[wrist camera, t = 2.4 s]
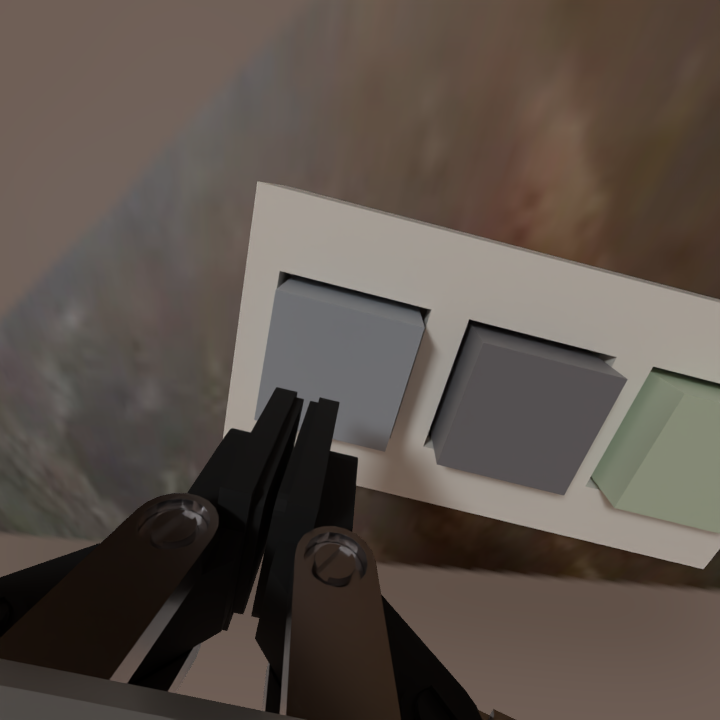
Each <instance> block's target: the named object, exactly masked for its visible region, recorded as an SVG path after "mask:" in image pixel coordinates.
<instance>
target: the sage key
mask: <svg viewBox="0 0 720 720" xmlns="http://www.w3.org/2000/svg"><path fill="white" fill-rule="evenodd" d="M591 477H592V478H593V480H594V481H595V482H596V484H597V485H598V487H599V488H600V489H601V491H602V492H603V493H604V495H605V496H606V497H607V499H608V500H609V501H610V503H611V504H612V505H613V507H614V508H617V509H621V510H625V511H629V512H633V513H637V514H641V515H646V516H650V517H654V518H658V519H662V520H666V521H670V522H674V523H678V524H682V525H686V526H691V527H695V528H699V529H703V530H707V531H711V532H715V533H719V534H720V383H716V382H712V381H708V380H704V379H700V378H696V377H693V376H689V375H685V374H681V373H677V372H673V371H669V370H665V369H661V368H657V367H653V368H652V370H651V371H650V373H649V375H648V377H647V378H646V380H645V382H644V384H643V385H642V387H641V389H640V391H639V392H638V394H637V396H636V398H635V399H634V401H633V403H632V405H631V407H630V408H629V410H628V412H627V414H626V415H625V417H624V419H623V421H622V422H621V424H620V426H619V428H618V429H617V431H616V433H615V435H614V437H613V438H612V440H611V442H610V444H609V445H608V447H607V449H606V451H605V452H604V454H603V456H602V458H601V459H600V461H599V463H598V465H597V466H596V468H595V470H594V472H593V474H592V475H591Z"/></svg>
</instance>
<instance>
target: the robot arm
mask: <svg viewBox="0 0 720 720" xmlns="http://www.w3.org/2000/svg"><path fill="white" fill-rule="evenodd" d="M303 403H304V399H302V398H297V392H296V391H292V390H287V389H283V388H279V387H276V389H275V390H274V392H273V394H272V396H271V397H270V399H269V401H268V403H267V405H266V406H265V408H264V410H263V412H262V413H261V415H260V417H259V419H258V421H257V422H256V424H255V426H254V428H253V429H252V431H251V432H247V431H243V430H239V429H234V428H231V429H230V430H229V431H228V433H227V434H226V436H225V437H224V439H223V440H222V442H221V443H220V445H219V446H218V448H217V449H216V451H215V452H214V454H213V455H212V457H211V458H210V460H209V461H208V463H207V464H206V466H205V467H204V469H203V470H202V472H201V473H200V475H199V476H198V478H197V479H196V481H195V482H194V484H193V485H192V487H191V488H190V490H189V491H188V493H171V494H166V495H161V496H158V497H156V498H154V499H151V500H149V501H147V502H145V503H144V504H143V505H141V506H140V507H139V508H137V509H136V510H135V511H134V512H133V513H132V514H131V515H130V516H129V517H128V518H127V519H125V520H124V521H123V522H122V523H121V524H120V525H119V526H118V527H117V528H116V529H115V530H114V531H113V532H112V533H111V534H110V535H109V536H107V537H106V538H105V539H104V540H103V541H102V542H101V543H99V544H96V545H93V546H90V547H87V548H84V549H81V550H79V551H76V552H73V553H70V554H67V555H64V556H61V557H58V558H55V559H53V560H49V561H47V562H44V563H41V564H38V565H35V566H32V567H29V568H26V569H23V570H21V571H18V572H15V573H12V574H9V575H6V576H3V577H1V578H0V720H515V719H513V718H511V717H509V716H507V715H505V714H502V713H500V712H498V711H496V710H493V711H492V712H491V714H490V715H488V714H486V713H483V712H481V711H479V710H478V709H477V707H476V705H475V703H474V702H473V701H472V699H471V698H470V696H469V695H468V694H467V692H466V691H465V689H464V688H463V687H462V686H461V685H460V684H459V683H458V682H457V680H456V679H455V678H454V677H453V676H452V675H451V673H450V672H449V671H448V670H447V669H446V668H445V667H444V665H443V664H442V663H441V662H440V661H439V660H438V659H437V658H436V656H435V655H434V654H433V653H432V652H431V651H430V650H429V649H428V647H427V646H426V645H425V644H424V643H423V642H422V640H421V639H420V638H419V637H418V636H417V635H416V634H415V632H414V631H413V630H412V629H411V628H410V627H409V626H408V624H407V623H406V622H405V621H404V620H403V619H402V618H401V616H400V615H399V614H398V613H397V612H396V611H395V610H394V608H393V607H392V606H391V605H390V604H389V603H388V602H387V601H386V599H385V598H384V597H383V596H382V595H381V591H380V585H379V579H378V573H377V566H376V561H375V558H374V555H373V552H372V550H371V549H370V547H369V546H368V544H367V543H366V542H365V541H364V540H363V539H362V538H361V537H359V536H358V535H357V534H355V533H353V532H352V529H353V516H354V504H355V492H356V480H357V467H358V457H355V456H350V455H346V454H342V453H337V452H333V451H330V449H331V444H332V439H333V434H334V429H335V424H336V419H337V414H338V409H339V404H340V402H338V401H333V400H329V399H325V398H321V397H320V398H319V401H318V402H314V401H310V403H309V406H308V408H307V411H306V414H305V417H304V420H303V423H302V426H301V428H300V431H299V434H298V437H297V440H296V435H297V431H298V426H299V421H300V417H301V412H302V408H303ZM295 440H296V443H295ZM294 445H295V446H294ZM264 551H265V552H264ZM263 554H264V557H263ZM262 557H263V562H262V567H261V571H260V577H259V581H258V586H257V591H256V595H255V600H254V605H253V611H252V616H253V617H258V618H259V623H258V627H257V632H256V637H255V639H256V641H257V643H258V644H259V646H260V648H261V650H262V651H263V653H264V655H265V657H266V658H267V660H268V666H267V670H266V677H265V686H264V696H263V706H262V711H260V710H255V709H250V708H245V707H240V706H235V705H231V704H226V703H221V702H216V701H211V700H206V699H201V698H196V697H191V696H186V695H181V694H176V693H177V691H178V689H179V687H180V685H181V684H182V682H183V680H184V678H185V677H186V675H187V673H188V671H189V670H190V668H191V666H192V664H193V662H194V661H195V659H196V657H197V654H198V651H199V649H200V646H201V643H202V642H204V641H205V640H207V639H209V638H211V637H212V636H214V635H216V634H217V633H219V632H221V631H222V630H226V631H227V630H228V627H229V624H230V621H231V619H232V615H233V613H238V614H243V613H244V611H245V608H246V605H247V602H248V599H249V596H250V593H251V590H252V587H253V584H254V581H255V578H256V574H257V572H258V569H259V566H260V563H261V559H262Z"/></svg>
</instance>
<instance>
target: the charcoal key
mask: <svg viewBox="0 0 720 720" xmlns="http://www.w3.org/2000/svg"><path fill="white" fill-rule="evenodd" d="M627 380H628V379H627V378H625V377H624V376H623V375H621V374H620V373H619V372H617V371H616V370H615V369H613V368H612V367H611V366H609V365H608V364H607V363H605V362H604V361H603V360H601V359H600V358H598V357H597V356H596V355H594V354H593V353H592V352H590V351H589V350H587V349H583V348H579V347H575V346H571V345H568V344H564V343H560V342H556V341H552V340H548V339H544V338H540V337H536V336H532V335H528V334H525V333H521V332H517V331H513V330H509V329H505V328H501V327H497V326H493V325H489V324H486V323H482V322H478V321H474V320H470V319H469V321H468V324H467V327H466V329H465V332H464V335H463V338H462V340H461V343H460V346H459V349H458V352H457V354H456V357H455V360H454V363H453V365H452V368H451V371H450V374H449V377H448V379H447V382H446V385H445V388H444V390H443V393H442V396H441V399H440V402H439V404H438V407H437V410H436V413H435V415H434V418H433V421H432V424H431V427H430V431H431V437H432V442H433V447H434V453H435V458H436V463H437V465H441V466H445V467H449V468H453V469H457V470H461V471H465V472H469V473H474V474H478V475H482V476H486V477H490V478H494V479H498V480H502V481H506V482H510V483H514V484H519V485H523V486H527V487H531V488H535V489H539V490H543V491H547V492H551V493H555V494H560V495H565V493H566V491H567V489H568V487H569V486H570V484H571V482H572V480H573V478H574V477H575V475H576V473H577V471H578V469H579V467H580V466H581V464H582V462H583V460H584V458H585V456H586V455H587V453H588V451H589V449H590V447H591V446H592V444H593V442H594V440H595V438H596V436H597V435H598V433H599V431H600V429H601V427H602V425H603V424H604V422H605V420H606V418H607V416H608V415H609V413H610V411H611V409H612V407H613V405H614V404H615V402H616V400H617V398H618V396H619V394H620V393H621V391H622V389H623V387H624V385H625V383H626V382H627Z"/></svg>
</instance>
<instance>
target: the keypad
mask: <svg viewBox="0 0 720 720" xmlns="http://www.w3.org/2000/svg"><path fill="white" fill-rule="evenodd" d="M294 275H298V276H302V277H306V278H310V279H314V280H318V281H321V282H325V283H329V284H333V285H337V286H341V287H345V288H349V289H353V290H357V291H361V292H364V293H368V294H372V295H376V296H380V297H384V298H388V299H392V300H396V301H400V302H403V303H407V304H411V305H415V306H419V310H420V313H421V317H422V320H423V323H424V327H425V328H424V331H423V335H422V338H421V341H420V344H419V347H418V350H417V353H416V356H415V360H414V363H413V366H412V369H411V372H410V375H409V378H408V382H407V385H406V388H405V391H404V394H403V397H402V400H401V404H400V407H399V410H398V413H397V416H396V419H395V422H394V425H393V429H392V432H391V435H390V438H389V441H388V444H387V447H386V451H385V452H383V451H379V450H375V449H371V448H367V447H363V446H359V445H355V444H351V443H347V442H343V441H338V440H334V439H332V444H331V449H330V451H333V452H337V453H342V454H346V455H350V456H355V457H358V467H357V480H356V485H357V486H361V487H365V488H369V489H373V490H377V491H382V492H386V493H390V494H394V495H398V496H402V497H407V498H411V499H415V500H419V501H423V502H427V503H431V504H436V505H440V506H444V507H448V508H452V509H456V510H460V511H465V512H469V513H473V514H477V515H481V516H485V517H489V518H494V519H498V520H502V521H506V522H510V523H514V524H518V525H523V526H527V527H531V528H535V529H539V530H543V531H547V532H552V533H556V534H560V535H564V536H568V537H572V538H577V539H581V540H585V541H589V542H593V543H597V544H601V545H606V546H610V547H614V548H618V549H622V550H626V551H630V552H635V553H639V554H643V555H647V556H651V557H655V558H659V559H664V560H668V561H672V562H676V563H680V564H684V565H688V566H693V567H697V568H701V569H704V568H705V567H706V565H707V564H708V563H709V561H710V560H711V559H712V558H713V556H714V555H715V554H716V552H717V551H718V550H719V549H720V534H719V533H715V532H711V531H707V530H703V529H699V528H695V527H691V526H686V525H682V524H678V523H674V522H670V521H666V520H662V519H658V518H654V517H650V516H646V515H641V514H637V513H633V512H629V511H625V510H621V509H617V508H614V507H613V505H612V504H611V503H610V501H609V500H608V499H607V497H606V496H605V495H604V493H603V492H602V491H601V489H600V488H599V487H598V485H597V484H596V482H595V481H594V480H593V478H592V477H591V475H592V474H593V472H594V470H595V468H596V466H597V465H598V463H599V461H600V459H601V458H602V456H603V454H604V452H605V451H606V449H607V447H608V445H609V444H610V442H611V440H612V438H613V437H614V435H615V433H616V431H617V429H618V428H619V426H620V424H621V422H622V421H623V419H624V417H625V415H626V414H627V412H628V410H629V408H630V407H631V405H632V403H633V401H634V399H635V398H636V396H637V394H638V392H639V391H640V389H641V387H642V385H643V384H644V382H645V380H646V378H647V377H648V375H649V373H650V371H651V370H652V368H653V367H657V368H661V369H665V370H669V371H673V372H677V373H681V374H685V375H689V376H693V377H696V378H700V379H704V380H708V381H712V382H716V383H720V300H719V299H716V298H712V297H708V296H704V295H700V294H697V293H693V292H689V291H685V290H681V289H677V288H674V287H670V286H666V285H662V284H658V283H655V282H651V281H647V280H643V279H639V278H636V277H632V276H628V275H624V274H620V273H617V272H613V271H609V270H605V269H601V268H598V267H594V266H590V265H586V264H582V263H578V262H575V261H571V260H567V259H563V258H559V257H556V256H552V255H548V254H544V253H540V252H537V251H533V250H529V249H525V248H521V247H518V246H514V245H510V244H506V243H502V242H499V241H495V240H491V239H487V238H483V237H479V236H476V235H472V234H468V233H464V232H460V231H457V230H453V229H449V228H445V227H441V226H438V225H434V224H430V223H426V222H422V221H419V220H415V219H411V218H407V217H403V216H400V215H396V214H392V213H388V212H384V211H380V210H377V209H373V208H369V207H365V206H361V205H358V204H354V203H350V202H346V201H342V200H339V199H335V198H331V197H327V196H323V195H320V194H316V193H312V192H308V191H304V190H300V189H297V188H293V187H289V186H285V185H278V184H272V183H265V182H258V181H257V189H256V196H255V204H254V211H253V219H252V226H251V233H250V241H249V248H248V256H247V263H246V271H245V278H244V286H243V293H242V301H241V308H240V315H239V323H238V330H237V338H236V345H235V353H234V360H233V368H232V375H231V383H230V390H229V397H228V405H227V412H226V420H225V427H224V435H223V439H224V437H225V436H226V434H227V433H228V431H229V430H230V429H231V428H234V429H239V430H243V431H247V432H251V431H252V429H253V428H254V426H255V424H256V422H257V420H254V418H255V412H256V406H257V400H258V394H259V388H260V382H261V375H262V369H263V363H264V357H265V351H266V345H267V339H268V333H269V327H270V321H271V315H272V309H273V303H274V297H275V291H276V289H277V288H278V287H280V286H281V285H282V284H283V283H285V282H286V281H287V280H288V279H290V278H291V277H292V276H294ZM469 319H470V320H474V321H478V322H482V323H486V324H489V325H493V326H497V327H501V328H505V329H509V330H513V331H517V332H521V333H525V334H528V335H532V336H536V337H540V338H544V339H548V340H552V341H556V342H560V343H564V344H568V345H571V346H575V347H579V348H583V349H587V350H589V351H590V352H592V353H593V354H594V355H596V356H597V357H598V358H600V359H601V360H603V361H604V362H605V363H607V364H608V365H609V366H611V367H612V368H613V369H615V370H616V371H617V372H619V373H620V374H621V375H623V376H624V377H625V378H627V379H628V380H627V382H626V383H625V385H624V387H623V389H622V391H621V393H620V394H619V396H618V398H617V400H616V402H615V404H614V405H613V407H612V409H611V411H610V413H609V415H608V416H607V418H606V420H605V422H604V424H603V425H602V427H601V429H600V431H599V433H598V435H597V436H596V438H595V440H594V442H593V444H592V446H591V447H590V449H589V451H588V453H587V455H586V456H585V458H584V460H583V462H582V464H581V466H580V467H579V469H578V471H577V473H576V475H575V477H574V478H573V480H572V482H571V484H570V486H569V487H568V489H567V491H566V493H565V495H560V494H555V493H551V492H547V491H543V490H539V489H535V488H531V487H527V486H523V485H519V484H514V483H510V482H506V481H502V480H498V479H494V478H490V477H486V476H482V475H478V474H474V473H469V472H465V471H461V470H457V469H453V468H449V467H445V466H441V465H437V463H436V458H435V453H434V447H433V442H432V437H431V431H430V427H431V424H432V421H433V418H434V415H435V413H436V410H437V407H438V404H439V402H440V399H441V396H442V393H443V390H444V388H445V385H446V382H447V379H448V377H449V374H450V371H451V368H452V365H453V363H454V360H455V357H456V354H457V352H458V349H459V346H460V343H461V340H462V338H463V335H464V332H465V329H466V327H467V324H468V321H469ZM298 434H299V431H297V435H296V440H297V437H298ZM296 440H295V443H296ZM294 446H295V445H294Z"/></svg>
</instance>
